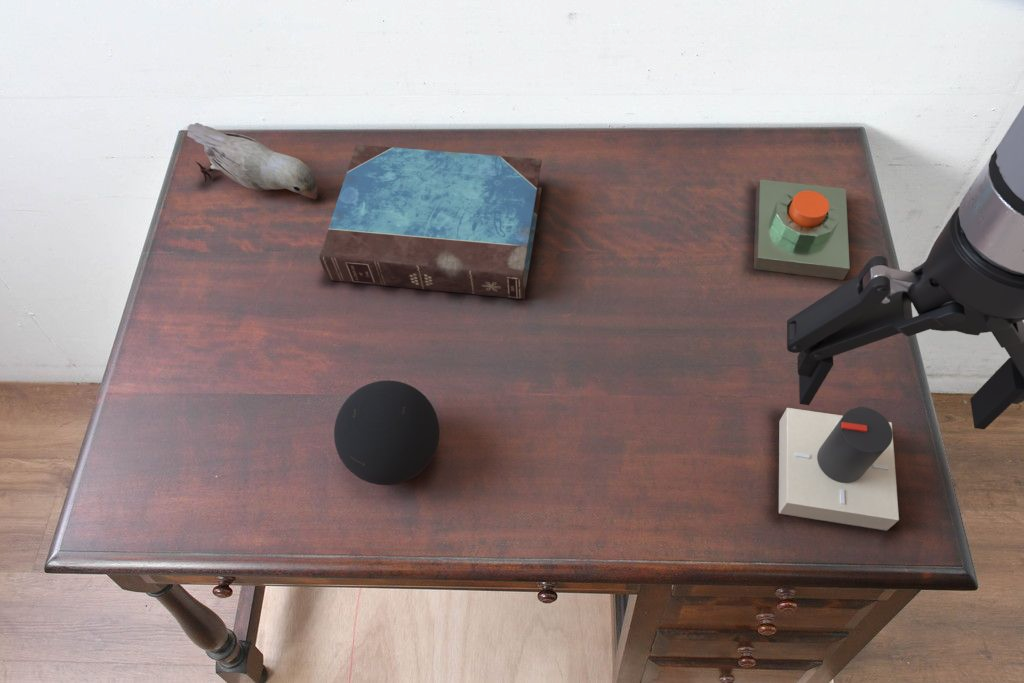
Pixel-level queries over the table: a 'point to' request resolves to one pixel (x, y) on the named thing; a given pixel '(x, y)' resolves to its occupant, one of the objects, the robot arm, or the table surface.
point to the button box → (800, 233)
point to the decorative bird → (252, 162)
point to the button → (808, 208)
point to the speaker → (386, 432)
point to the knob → (854, 444)
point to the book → (435, 221)
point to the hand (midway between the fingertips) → (889, 402)
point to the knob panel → (819, 494)
